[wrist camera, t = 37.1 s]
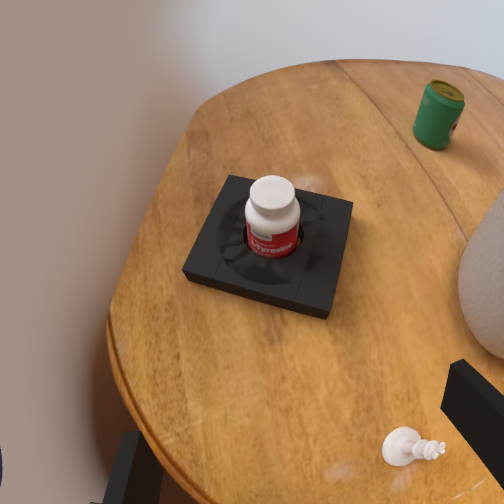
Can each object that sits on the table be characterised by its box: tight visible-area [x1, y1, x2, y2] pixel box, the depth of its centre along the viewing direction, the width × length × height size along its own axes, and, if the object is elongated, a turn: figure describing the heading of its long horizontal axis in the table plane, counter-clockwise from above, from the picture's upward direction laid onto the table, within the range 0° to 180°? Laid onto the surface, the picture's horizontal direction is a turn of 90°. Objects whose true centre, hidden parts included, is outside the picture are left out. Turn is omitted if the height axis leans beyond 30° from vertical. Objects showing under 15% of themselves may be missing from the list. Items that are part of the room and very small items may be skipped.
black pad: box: [182, 175, 353, 320], centre depth 41 cm, size 18×16×3 cm
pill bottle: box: [245, 176, 300, 260], centre depth 37 cm, size 6×6×11 cm
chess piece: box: [382, 427, 446, 466], centre depth 23 cm, size 5×5×10 cm
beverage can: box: [413, 80, 465, 150], centre depth 47 cm, size 8×8×12 cm
